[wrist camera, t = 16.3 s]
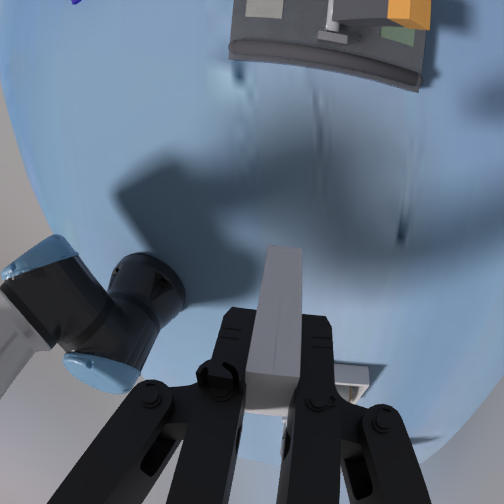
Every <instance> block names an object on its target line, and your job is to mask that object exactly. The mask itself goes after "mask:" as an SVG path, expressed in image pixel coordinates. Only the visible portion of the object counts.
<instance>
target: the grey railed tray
mask: <svg viewBox="0 0 504 504" xmlns="http://www.w3.org/2000/svg"><path fill="white" fill-rule="evenodd" d="M228 48H229V51H230V52H231V53H233V54H242V55H259V56H271V57H281V58H290V59H298V60H305V61H312V62H318V63H324V64H329V65H335V66H340V67H345V68H349V69H354V70H358V71H363V72H367V73H371V74H375V75H378V76H382V77H386V78H389V79H393V80H396V81H399V82H403V83H406V84H409V85H412V86H416V87H417V86H420V85H421V84H422V83H423V78H422V76H421V75H420V74H419V73H418V72H415V71H412V70H409V69H406V68H403V67H400V66H397V65H393V64H390V63H386V62H383V61H379V60H375V59H372V58H368V57H364V56H359V55H355V54H351V53H346V52H341V51H336V50H331V49H325V48H319V47H313V46H306V45H299V44H291V43H282V42H271V41H257V40H233V41H231V42H230V43H229V46H228Z"/></svg>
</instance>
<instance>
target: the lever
mask: <svg viewBox="0 0 504 504" xmlns="http://www.w3.org/2000/svg"><path fill="white" fill-rule="evenodd" d="M430 17H431V0H329V1H328V12H327V22H326V31H328V32H332V33H339V25H340V24H344V25H347V26H350V27H357V26H391V27H406V28H408V29H419V30H429V31H430Z"/></svg>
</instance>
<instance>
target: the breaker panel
mask: <svg viewBox="0 0 504 504" xmlns="http://www.w3.org/2000/svg"><path fill="white" fill-rule="evenodd" d="M328 1H329V0H234V5H233V15H232V26H231V37H230V42H231V41H233V40H257V41H271V42H282V43H291V44H299V45H306V46H313V47H319V48H325V49H331V50H336V51H341V52H346V53H351V54H355V55H359V56H364V57H368V58H372V59H375V60H379V61H383V62H386V63H390V64H393V65H397V66H400V67H403V68H406V69H409V70H412V71H415V72H418V73H419V74H420V75H421V73H422V65H423V57H424V49H425V39H426V30H419V29H408V28H406V27H391V26H357V27H350V26H347V25H344V24H340V25H339V33H332V32H328V31H326V22H327V12H328ZM229 59H230V60H235V61H250V62H264V63H275V64H284V65H292V66H300V67H307V68H313V69H319V70H325V71H331V72H336V73H341V74H346V75H351V76H355V77H359V78H364V79H368V80H372V81H376V82H380V83H383V84H387V85H390V86H394V87H397V88H401V89H404V90H407V91H412V92H416V93H418V92H419V86H417V87H416V86H412V85H409V84H406V83H403V82H399V81H396V80H393V79H389V78H386V77H382V76H378V75H375V74H371V73H367V72H363V71H358V70H354V69H349V68H345V67H340V66H335V65H329V64H324V63H318V62H312V61H305V60H298V59H290V58H281V57H271V56H259V55H242V54H233V53H231V52H230V51H229Z"/></svg>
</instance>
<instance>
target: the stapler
mask: <svg viewBox="0 0 504 504" xmlns="http://www.w3.org/2000/svg"><path fill="white" fill-rule="evenodd" d="M71 1H72V4H77V3H79V2H80V1H81V0H71Z"/></svg>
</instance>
